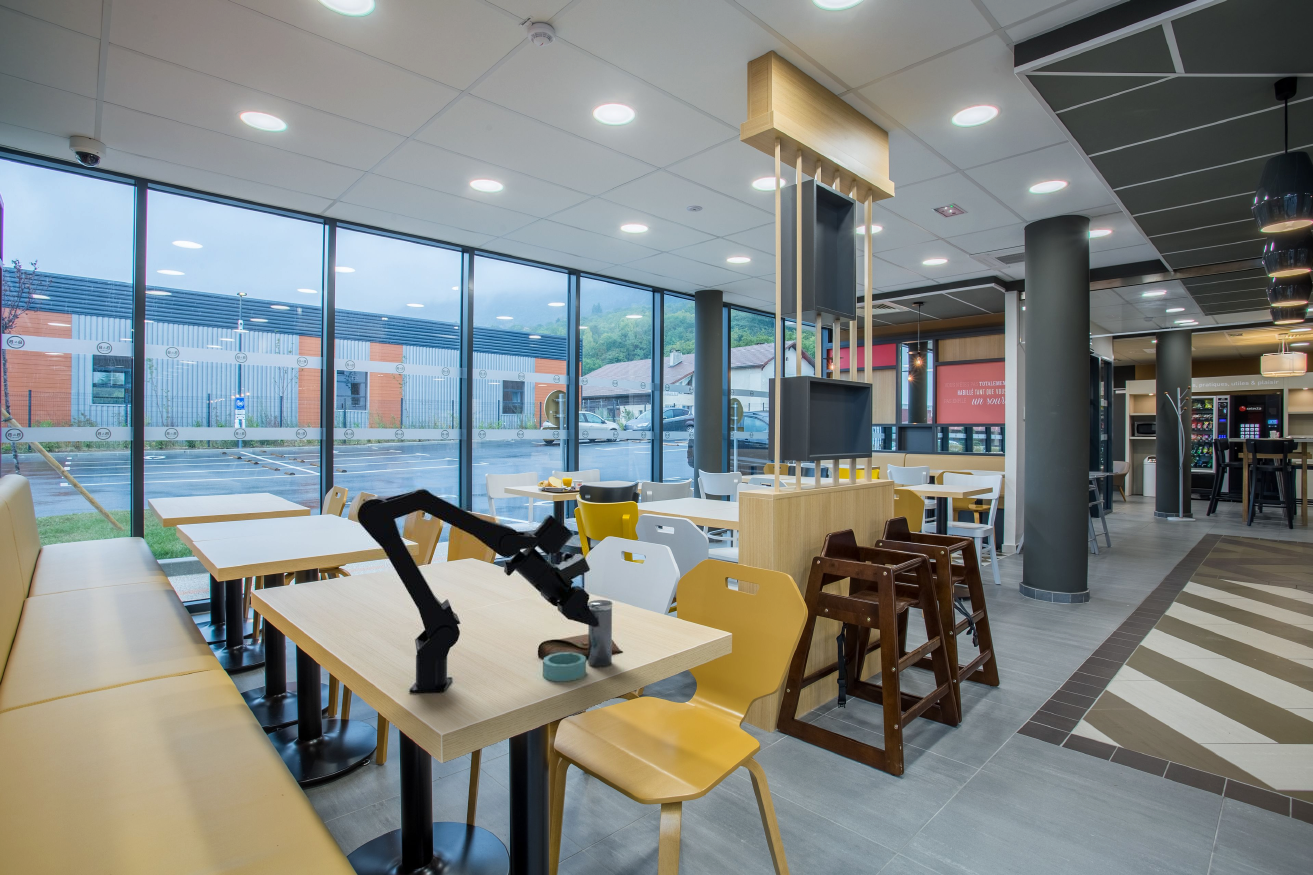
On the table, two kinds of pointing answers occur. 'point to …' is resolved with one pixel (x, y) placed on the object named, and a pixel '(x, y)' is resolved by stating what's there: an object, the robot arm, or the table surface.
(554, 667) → the ring
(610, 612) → the cylinder
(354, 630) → the table surface
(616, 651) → the sunglasses case
